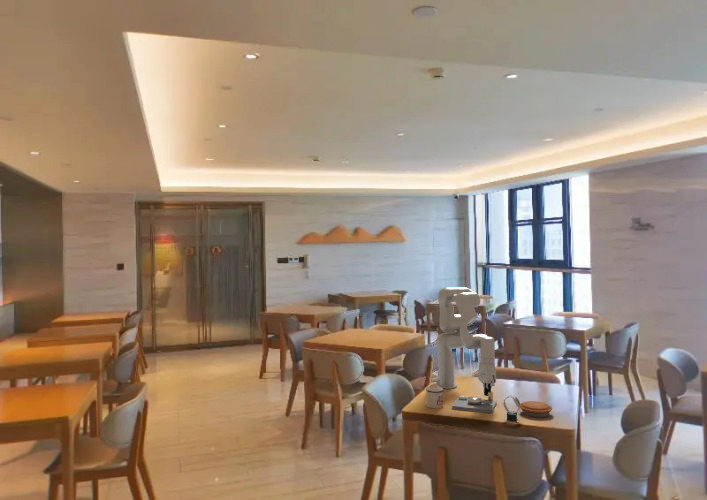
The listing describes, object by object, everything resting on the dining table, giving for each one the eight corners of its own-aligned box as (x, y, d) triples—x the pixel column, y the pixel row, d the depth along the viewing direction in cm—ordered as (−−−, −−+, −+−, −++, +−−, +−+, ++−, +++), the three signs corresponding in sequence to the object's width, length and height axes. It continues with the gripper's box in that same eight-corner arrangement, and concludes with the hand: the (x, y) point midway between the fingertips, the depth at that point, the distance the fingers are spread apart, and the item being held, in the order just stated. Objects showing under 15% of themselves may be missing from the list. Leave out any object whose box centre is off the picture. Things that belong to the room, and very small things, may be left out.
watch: (520, 421, 247) (520, 398, 247) (502, 420, 250) (502, 396, 250) (521, 418, 252) (521, 395, 252) (504, 416, 255) (503, 393, 255)
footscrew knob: (466, 403, 270) (466, 391, 270) (469, 400, 277) (468, 388, 277) (492, 406, 266) (491, 394, 266) (493, 402, 272) (493, 390, 272)
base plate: (452, 408, 268) (452, 402, 268) (458, 399, 284) (458, 393, 284) (492, 413, 260) (492, 406, 260) (496, 403, 277) (496, 397, 277)
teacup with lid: (439, 409, 266) (439, 386, 266) (423, 407, 271) (423, 384, 271) (448, 404, 276) (448, 381, 277) (432, 401, 281) (432, 379, 281)
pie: (555, 419, 250) (555, 409, 250) (521, 418, 253) (521, 407, 253) (549, 410, 266) (549, 400, 266) (517, 408, 268) (517, 398, 268)
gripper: (473, 358, 281) (473, 392, 281) (489, 363, 267) (490, 400, 267) (485, 357, 284) (485, 391, 284) (502, 362, 270) (502, 398, 270)
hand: (487, 395), depth 275 cm, fingers closed
